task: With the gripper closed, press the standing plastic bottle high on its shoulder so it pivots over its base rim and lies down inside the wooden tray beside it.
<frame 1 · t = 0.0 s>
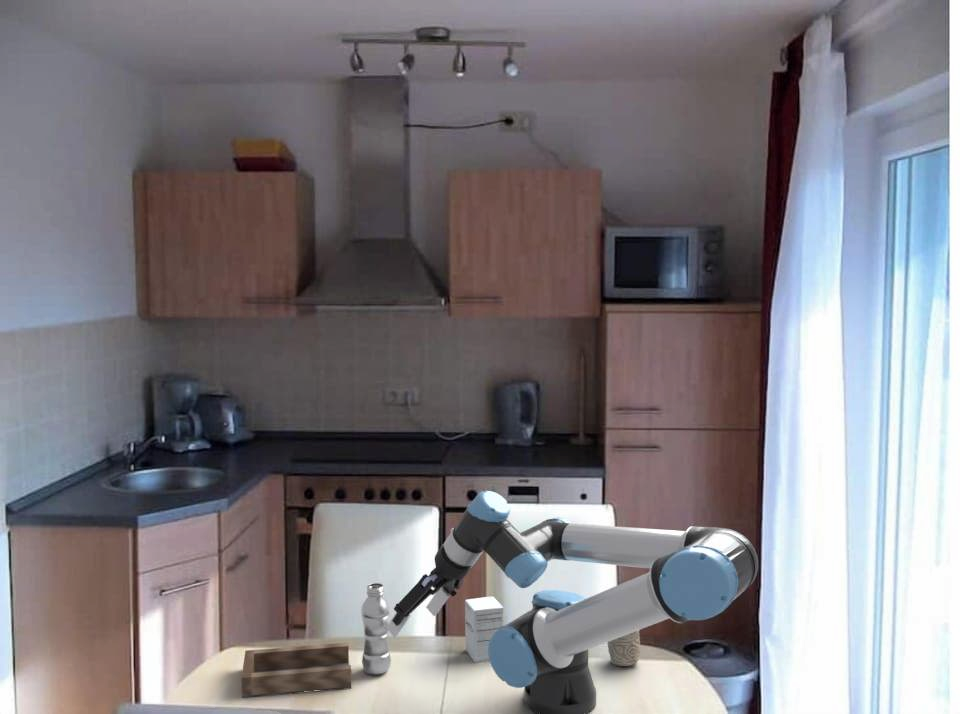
hand: (411, 621, 201), 15 cm above the table, tool tilted 35°, fingers open, 13 cm apart
plastic bottle: (376, 672, 211), on the table
supplement box: (484, 655, 220), on the table
carving: (623, 664, 215), on the table
wooden tray: (304, 677, 208), on the table
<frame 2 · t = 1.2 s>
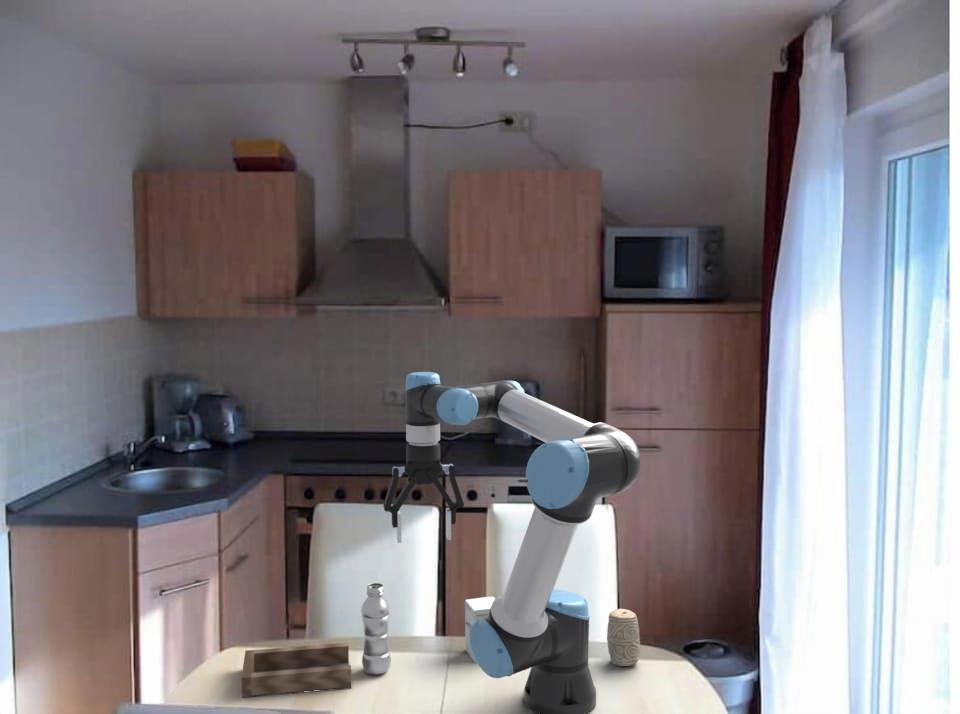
hand: (424, 539, 210), 30 cm above the table, tool pointing down, fingers open, 10 cm apart
nothing on the table moved.
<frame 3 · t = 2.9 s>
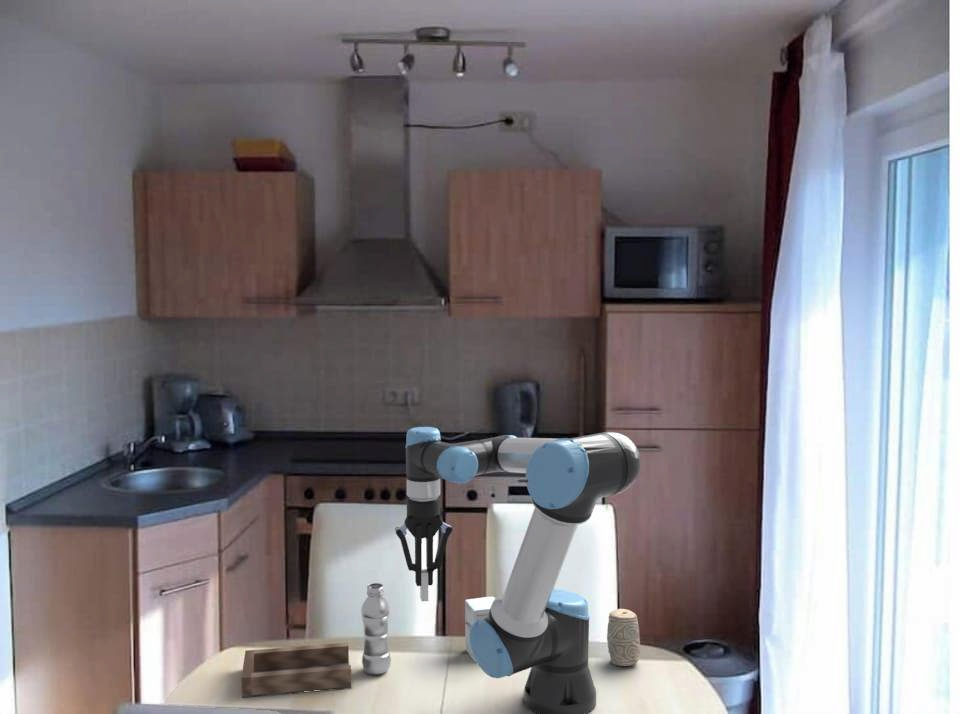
hand: (424, 598, 211), 16 cm above the table, tool pointing down, fingers closed
nothing on the table moved.
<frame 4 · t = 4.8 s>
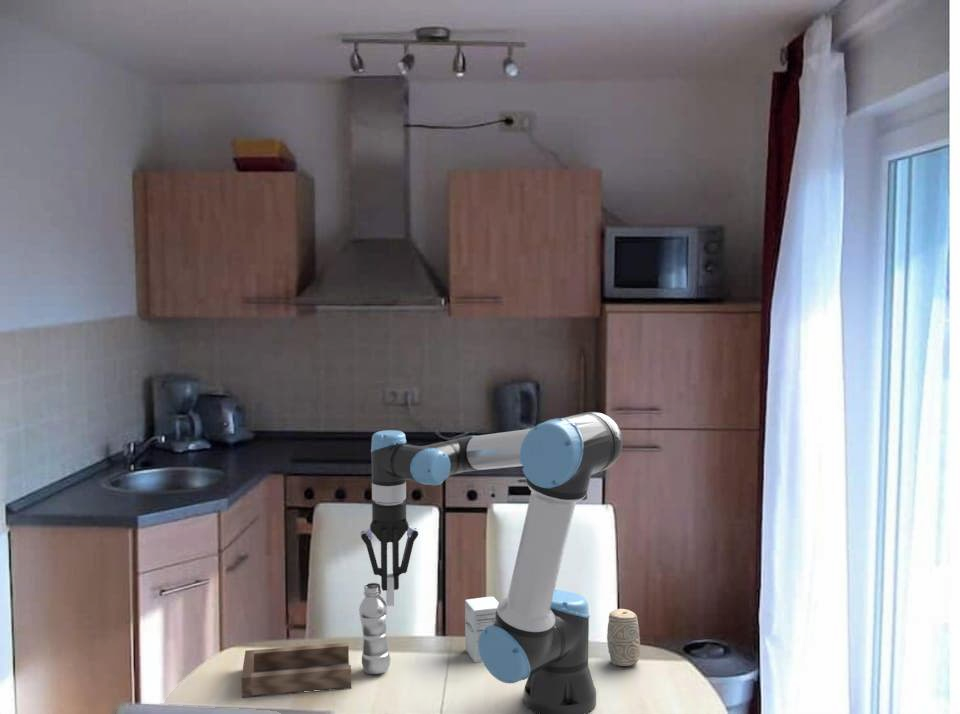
hand: (390, 603, 210), 16 cm above the table, tool pointing down, fingers closed
nothing on the table moved.
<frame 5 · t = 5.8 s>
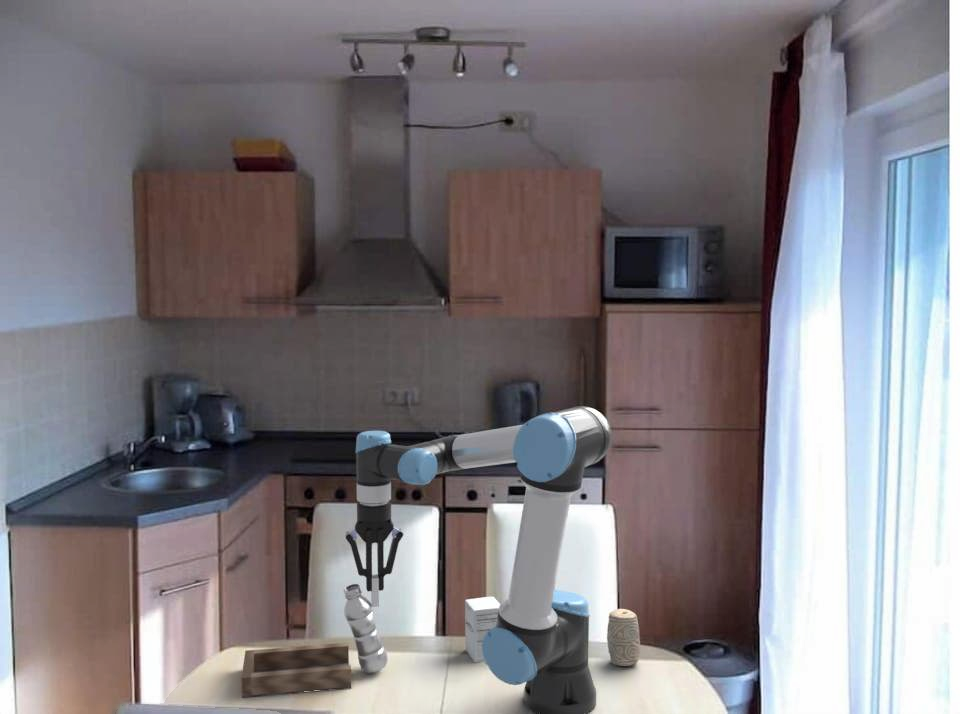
hand: (375, 604, 209), 16 cm above the table, tool pointing down, fingers closed
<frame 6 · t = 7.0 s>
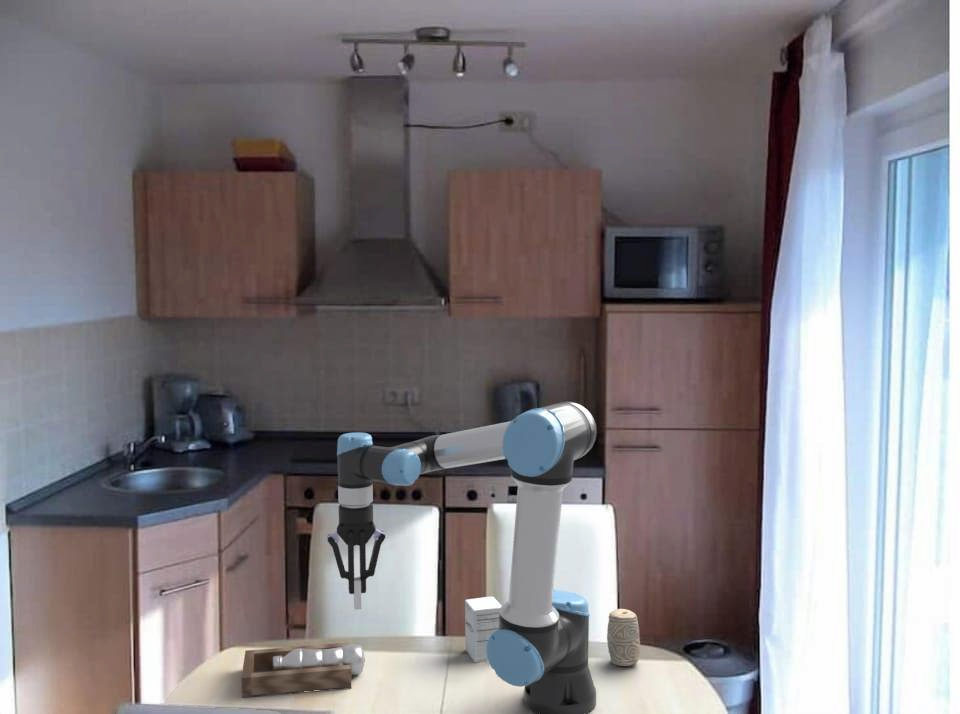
hand: (357, 607, 209), 15 cm above the table, tool pointing down, fingers closed
plastic bottle: (365, 658, 210), point 3 cm above the table, touching wooden tray
everything else where it was.
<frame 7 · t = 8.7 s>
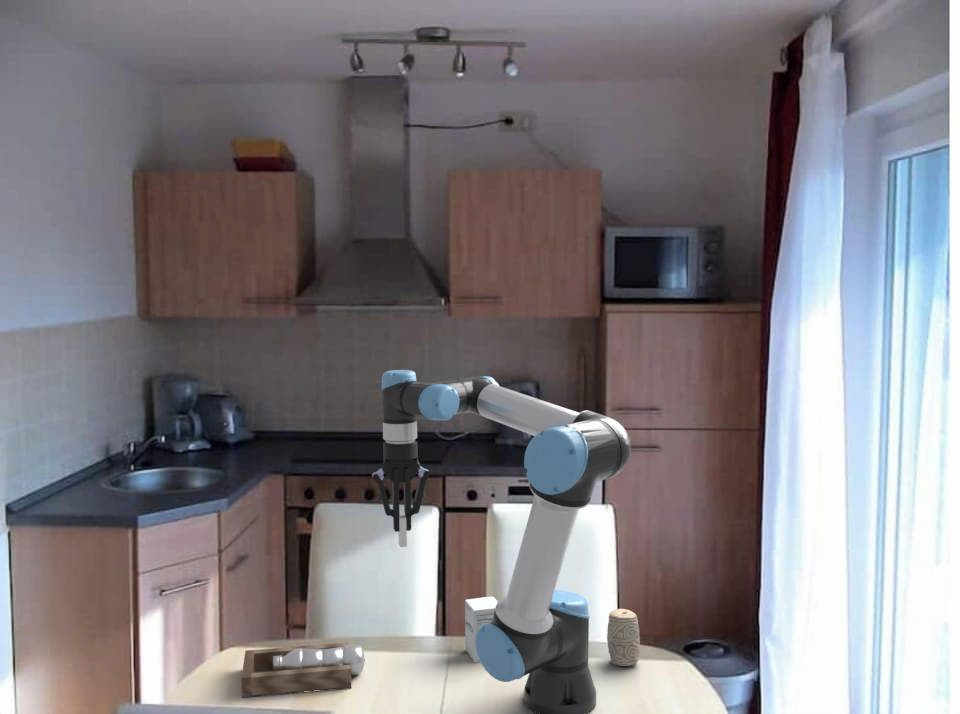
hand: (402, 545, 209), 29 cm above the table, tool pointing down, fingers closed
nothing on the table moved.
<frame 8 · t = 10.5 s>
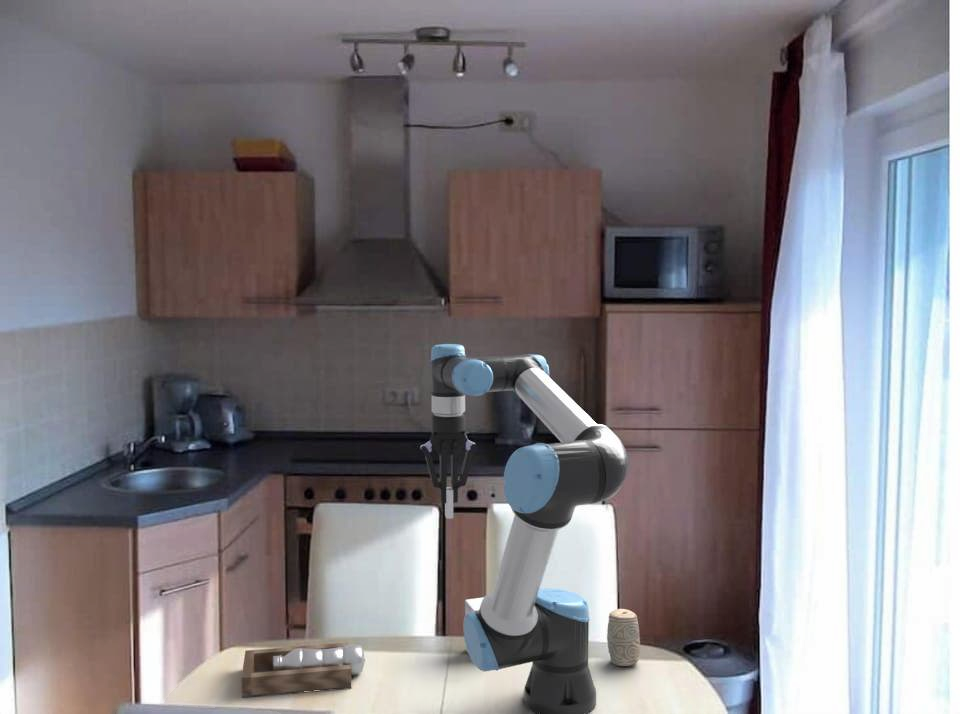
hand: (449, 516, 212), 34 cm above the table, tool pointing down, fingers closed
nothing on the table moved.
at the end: plastic bottle tilted 89°; plastic bottle touching wooden tray; plastic bottle inside the target area (1.8 cm from its centre), point 3.4 cm above the table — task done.
